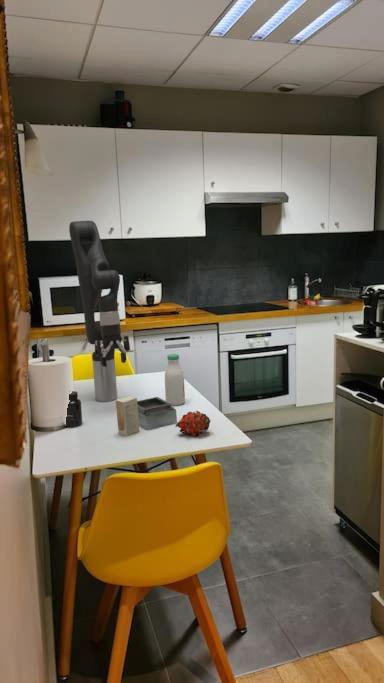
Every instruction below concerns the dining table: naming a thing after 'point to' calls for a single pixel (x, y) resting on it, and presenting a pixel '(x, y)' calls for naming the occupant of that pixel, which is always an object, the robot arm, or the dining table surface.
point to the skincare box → (127, 415)
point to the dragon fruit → (193, 423)
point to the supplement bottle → (74, 411)
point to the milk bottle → (174, 381)
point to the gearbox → (155, 413)
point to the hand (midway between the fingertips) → (114, 364)
